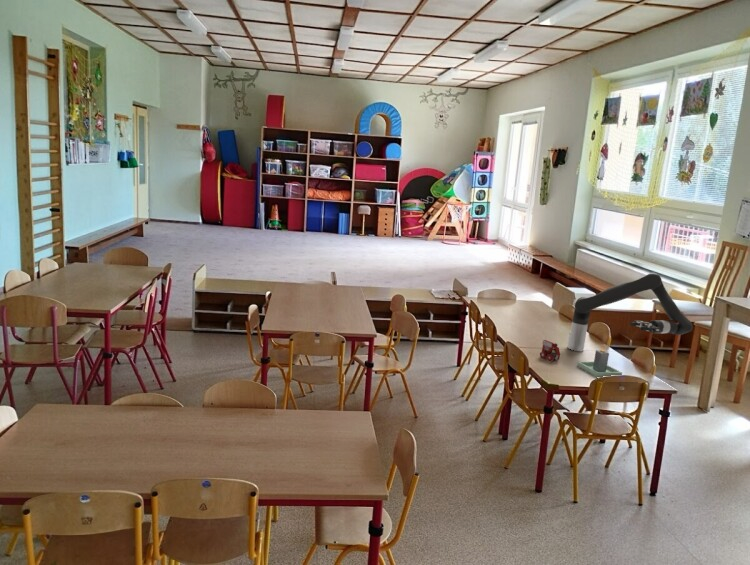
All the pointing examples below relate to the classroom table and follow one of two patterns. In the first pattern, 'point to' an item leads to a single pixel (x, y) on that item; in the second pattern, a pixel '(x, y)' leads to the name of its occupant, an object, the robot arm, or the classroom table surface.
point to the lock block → (600, 361)
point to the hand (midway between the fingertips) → (635, 326)
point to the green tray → (589, 369)
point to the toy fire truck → (550, 351)
